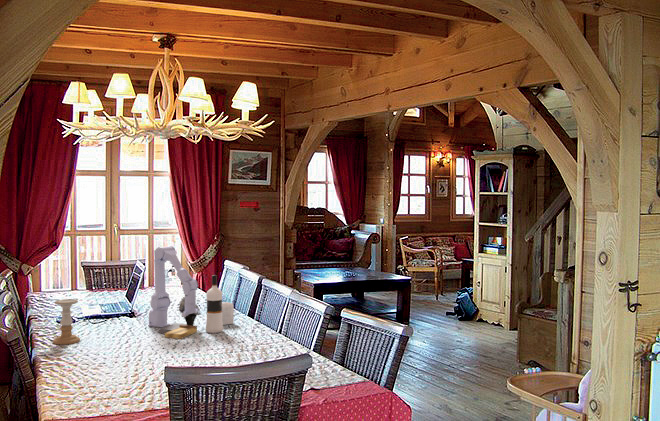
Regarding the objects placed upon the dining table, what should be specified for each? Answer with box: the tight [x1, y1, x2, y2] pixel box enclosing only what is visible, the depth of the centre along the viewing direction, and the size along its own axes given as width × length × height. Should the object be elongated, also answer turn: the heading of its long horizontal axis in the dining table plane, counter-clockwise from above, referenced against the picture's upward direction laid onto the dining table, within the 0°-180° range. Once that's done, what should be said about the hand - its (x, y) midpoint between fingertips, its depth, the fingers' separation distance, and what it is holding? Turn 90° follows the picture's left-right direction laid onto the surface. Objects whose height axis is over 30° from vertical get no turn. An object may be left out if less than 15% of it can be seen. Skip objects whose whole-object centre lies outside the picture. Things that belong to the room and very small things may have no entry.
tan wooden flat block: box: [164, 324, 198, 339], centre depth 324 cm, size 9×16×3 cm, turn 163°
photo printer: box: [222, 301, 235, 326], centre depth 349 cm, size 10×4×12 cm, turn 123°
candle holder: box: [52, 298, 81, 346], centre depth 307 cm, size 12×12×20 cm
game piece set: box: [224, 344, 268, 360], centre depth 287 cm, size 19×20×4 cm
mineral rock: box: [178, 296, 200, 313], centre depth 383 cm, size 13×11×10 cm
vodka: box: [205, 274, 224, 334], centre depth 331 cm, size 9×9×30 cm
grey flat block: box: [158, 322, 187, 334], centre depth 334 cm, size 8×16×2 cm, turn 163°
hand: (190, 328), depth 333 cm, fingers closed
